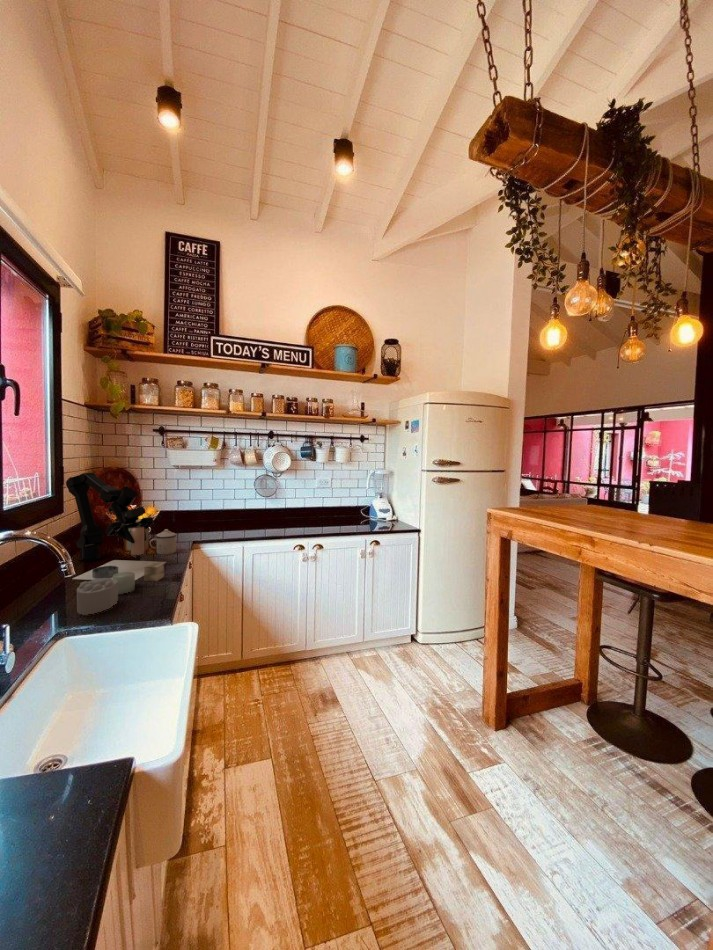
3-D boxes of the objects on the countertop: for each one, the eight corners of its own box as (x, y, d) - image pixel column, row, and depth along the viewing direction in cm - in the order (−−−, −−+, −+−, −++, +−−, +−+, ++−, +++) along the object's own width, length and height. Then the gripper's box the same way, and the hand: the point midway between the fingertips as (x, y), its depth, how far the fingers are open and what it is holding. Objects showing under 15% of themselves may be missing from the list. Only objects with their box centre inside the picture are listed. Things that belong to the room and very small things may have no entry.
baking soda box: (148, 549, 205) (148, 518, 204) (144, 552, 198) (144, 520, 197) (128, 549, 203) (128, 518, 202) (123, 552, 197) (123, 520, 196)
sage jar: (108, 593, 144) (108, 577, 144) (120, 587, 151) (120, 571, 151) (127, 594, 144) (127, 578, 143) (138, 588, 151) (138, 572, 150)
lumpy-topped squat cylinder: (121, 599, 140) (121, 574, 139) (105, 614, 127) (104, 588, 126) (88, 600, 138) (88, 575, 137) (68, 616, 125) (68, 589, 124)
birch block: (144, 584, 155) (144, 566, 154) (151, 580, 160) (151, 562, 159) (157, 584, 155) (157, 567, 154) (163, 580, 160) (163, 563, 159)
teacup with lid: (176, 549, 206) (176, 527, 205) (176, 554, 198) (176, 530, 197) (150, 551, 201) (150, 528, 200) (148, 556, 193) (148, 532, 192)
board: (71, 582, 154) (71, 578, 154) (114, 563, 180) (114, 559, 180) (133, 585, 153) (133, 581, 153) (166, 565, 179) (166, 561, 179)
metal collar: (87, 578, 155) (87, 572, 155) (102, 571, 163) (102, 565, 163) (109, 579, 155) (109, 572, 154) (122, 572, 163) (122, 566, 163)
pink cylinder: (128, 554, 167) (128, 528, 166) (135, 551, 172) (135, 526, 171) (140, 555, 167) (139, 529, 166) (146, 552, 172) (146, 526, 171)
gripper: (109, 503, 161) (127, 534, 157) (150, 498, 178) (168, 526, 174) (97, 520, 165) (114, 550, 161) (139, 514, 182) (155, 541, 178)
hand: (139, 541), depth 168 cm, fingers closed on pink cylinder, 5 cm apart
